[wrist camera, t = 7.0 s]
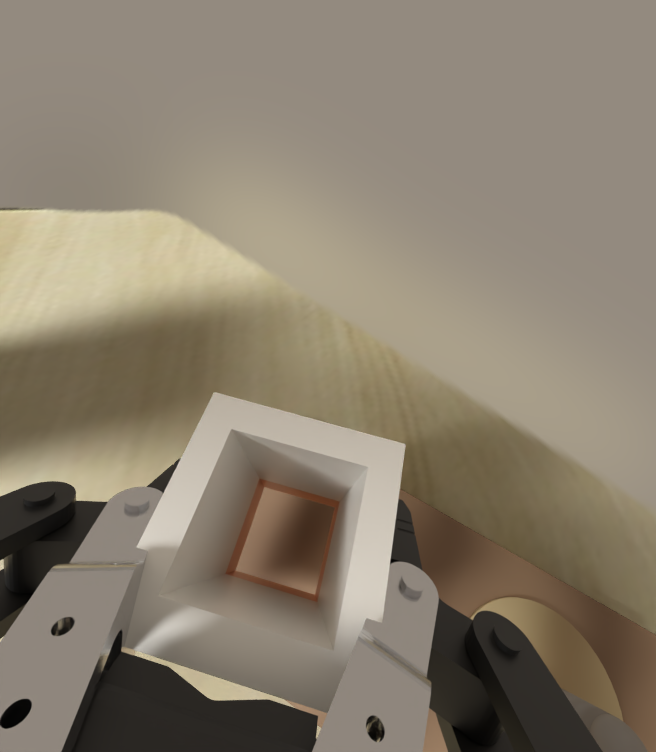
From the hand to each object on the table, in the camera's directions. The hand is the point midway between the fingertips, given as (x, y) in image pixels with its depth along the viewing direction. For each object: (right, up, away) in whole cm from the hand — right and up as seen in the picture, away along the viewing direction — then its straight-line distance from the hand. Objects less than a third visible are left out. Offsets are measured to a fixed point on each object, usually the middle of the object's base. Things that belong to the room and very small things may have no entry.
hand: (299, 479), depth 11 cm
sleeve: (-1, -3, +2) cm, 4 cm away
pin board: (+4, -8, +5) cm, 10 cm away
